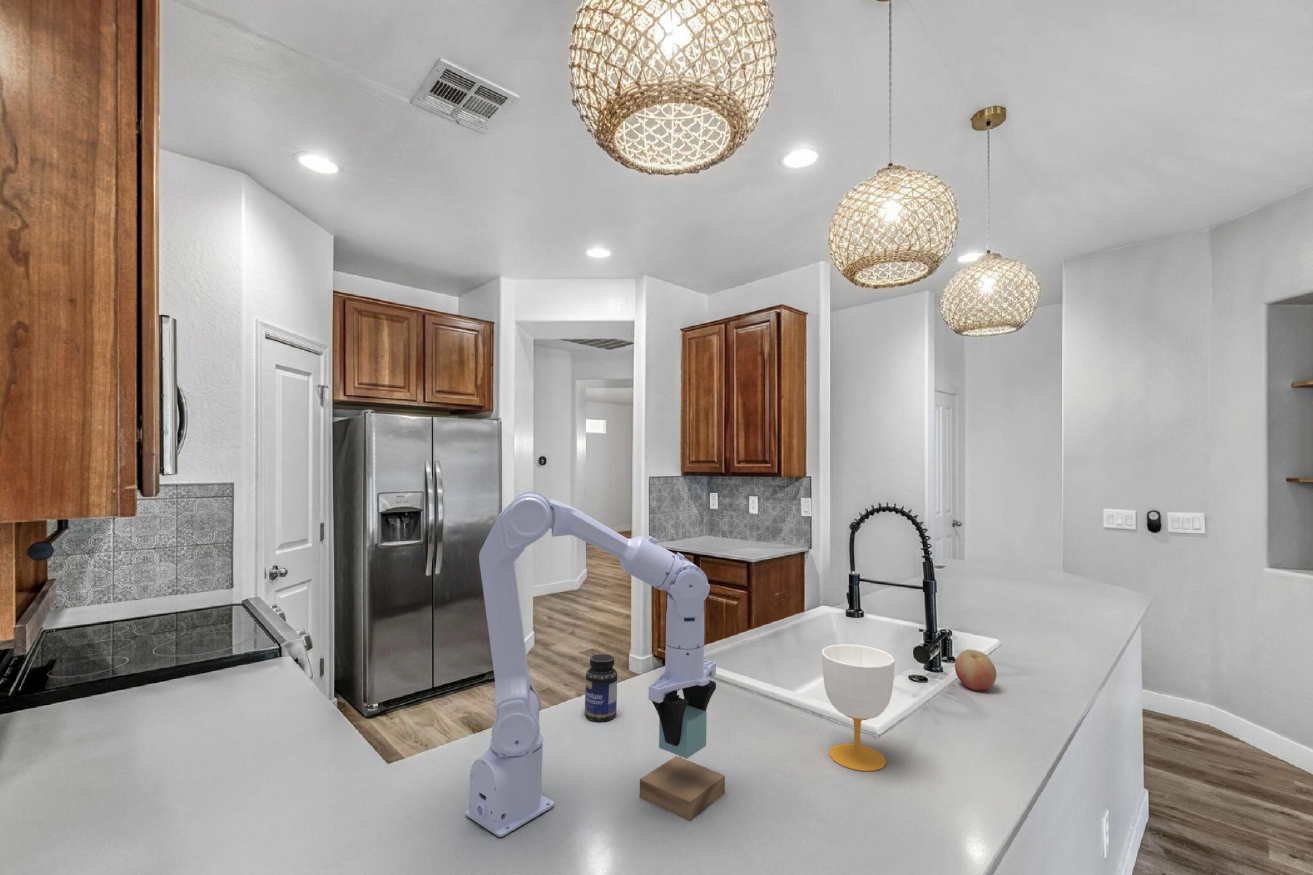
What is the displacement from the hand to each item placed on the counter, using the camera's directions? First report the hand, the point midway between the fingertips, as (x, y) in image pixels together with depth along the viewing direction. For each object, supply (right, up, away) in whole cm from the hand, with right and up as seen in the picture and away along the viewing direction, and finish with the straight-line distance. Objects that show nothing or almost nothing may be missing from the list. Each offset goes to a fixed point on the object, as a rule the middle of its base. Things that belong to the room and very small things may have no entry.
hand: (683, 736), depth 87 cm
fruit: (+67, -12, +44) cm, 81 cm away
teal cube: (0, -2, 0) cm, 2 cm away
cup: (+30, -10, +12) cm, 33 cm away
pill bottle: (-15, -10, +26) cm, 32 cm away
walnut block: (0, -9, 0) cm, 9 cm away
